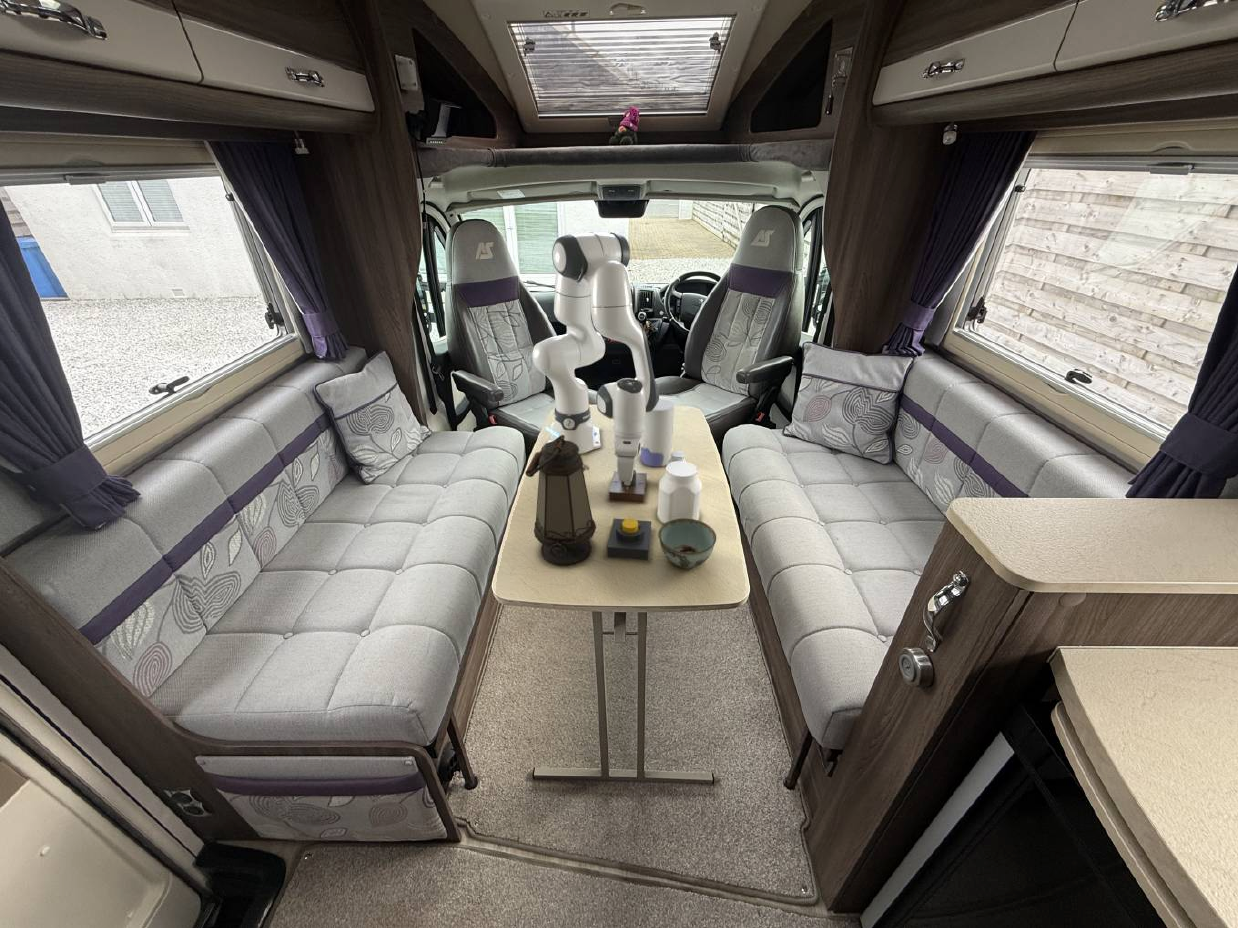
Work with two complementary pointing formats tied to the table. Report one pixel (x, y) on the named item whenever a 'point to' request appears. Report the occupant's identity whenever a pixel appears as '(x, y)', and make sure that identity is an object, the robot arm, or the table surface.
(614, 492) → the dial panel
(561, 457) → the lantern
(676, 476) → the jar
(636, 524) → the cylinder
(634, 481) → the knob
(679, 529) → the bowl
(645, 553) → the trigger housing
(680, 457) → the supplement bottle
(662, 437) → the container
